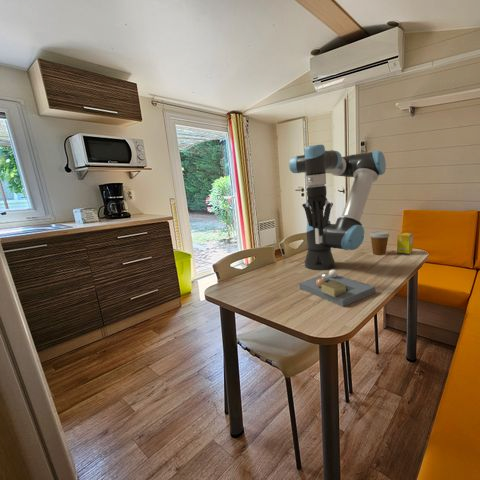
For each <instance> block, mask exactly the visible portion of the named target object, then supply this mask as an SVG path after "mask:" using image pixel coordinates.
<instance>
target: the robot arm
mask: <svg viewBox="0 0 480 480" xmlns="http://www.w3.org/2000/svg"><path fill="white" fill-rule="evenodd" d="M288 165H289V166H288V167H289V170H290V172H291V173H293V174H300V173H301V174H302V173H305V179H306V181H305V182H306V186H307V187H306V196H307V199H306V202H305V203H302V208H303V209H304V211H305V217H306V219H307V222H308V223H307V224H306V231H305V232H306V246H307V248H306V249H307V252H306V256H305V260H304V267H305V268H306V269H311V270H315V271H316V270H317V271H319V270H320V271H321V270H323V271H324V270H329V269H330V270H331V269H333V268H334V267H335V266H336V260H335V259H334V257H333V256H334V255H333V253H332V249H339V250H345V251H348V250H349V251H355V250H357V249H359V247H361V245H362V244H363V242H364V238H365V228H364V227H363V223H362V222H361V219H362V217H363V214H364V210H365V207H366V204H367V201H368V198H369V194H370V192H371V189H372V186H373V183H375V182H377V180H378V179H379V176H382V175H384V174H385V172H386V169H387V163H386V158H385V154H384V153H383V152H382V151H380V150H377V151H374V150H373V151H370V152H364V153H362V152H361V153H357V154H350V155H346V156H342V153H340V152H339V151H337V150H333V149H331V150H326V147H325V145H324V144H315V145H309V146H306V147H305V149H304V154H303V155H302V154H301V155H296V156H292V157H291V158H290V160H289V162H288ZM326 174H331V175H333V176H336V177H337V176H338V177H346V178H353V179H354V180H353V182H352V185H351V189H350V192H349V195H348V197H347V199H346V201H345V202H346V203H345V205H344V208H343V212H342V214H341V216H339V217H338V218H336V221H335V223H332V222H331V220H330V216H331V210H332V207H333V205H334V203H333V202H329V201H328V198H327V186H326V184H327V175H326Z"/></svg>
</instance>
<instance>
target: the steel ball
mask: <svg viewBox="0 0 480 480" xmlns="http://www.w3.org/2000/svg"><path fill="white" fill-rule="evenodd" d="M327 273H328V272H324V273H322V274H321V275H322V276H321V275H320V276H321V278H322V279H323V280H324V281H329V279H330V276H329V274H327Z"/></svg>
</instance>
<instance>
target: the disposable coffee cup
mask: <svg viewBox="0 0 480 480" xmlns="http://www.w3.org/2000/svg"><path fill="white" fill-rule="evenodd" d="M369 236H370V241H371V247H372V248H371V249H372V250H371V251H372V254H373V255H376V256H384V255H386V253H387V246H388V240H389V237H390V233H389V232H388V231H381V230H380V231H377V230H376V231H371V232H370V233H369Z"/></svg>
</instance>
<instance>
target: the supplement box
mask: <svg viewBox="0 0 480 480" xmlns="http://www.w3.org/2000/svg"><path fill="white" fill-rule="evenodd" d="M396 239H397V240H396V242H397V243H396V246H397V247H396V254H398V255H404V256H410V255H411V254H412V253H413V240H414V234H413V232H411V233H410V232H400V233H398V234H397V237H396Z"/></svg>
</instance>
